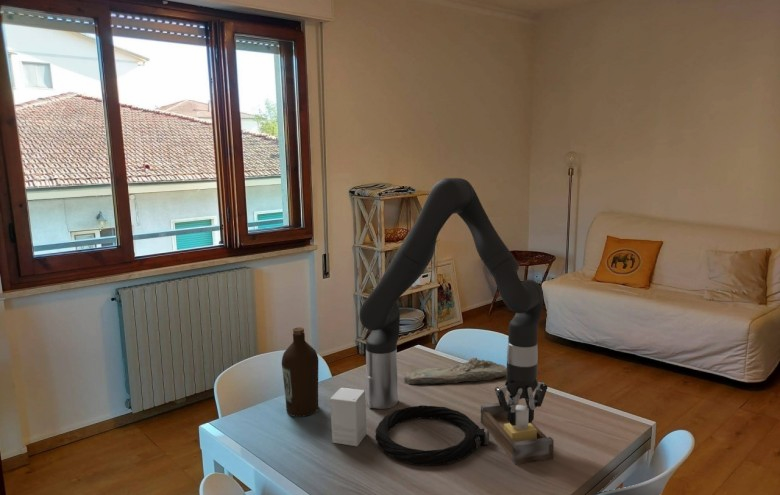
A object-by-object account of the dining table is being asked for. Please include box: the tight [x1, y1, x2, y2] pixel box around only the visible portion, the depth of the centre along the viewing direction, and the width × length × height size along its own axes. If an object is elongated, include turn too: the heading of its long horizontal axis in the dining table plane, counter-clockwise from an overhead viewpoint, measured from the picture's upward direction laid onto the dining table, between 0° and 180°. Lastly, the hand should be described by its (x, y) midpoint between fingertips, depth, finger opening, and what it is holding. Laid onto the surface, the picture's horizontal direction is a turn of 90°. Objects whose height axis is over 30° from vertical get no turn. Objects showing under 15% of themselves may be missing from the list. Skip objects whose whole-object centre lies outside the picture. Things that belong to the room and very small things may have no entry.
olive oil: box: [281, 327, 319, 418], centre depth 164 cm, size 11×11×25 cm
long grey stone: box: [403, 357, 507, 385], centre depth 187 cm, size 35×5×10 cm
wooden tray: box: [480, 401, 555, 465], centre depth 147 cm, size 10×22×5 cm, turn 13°
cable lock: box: [374, 405, 490, 466], centre depth 149 cm, size 28×4×30 cm
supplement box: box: [329, 387, 368, 447], centre depth 149 cm, size 7×7×13 cm
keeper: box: [504, 404, 537, 442], centre depth 144 cm, size 7×5×8 cm
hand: (520, 422), depth 144 cm, fingers closed on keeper, 4 cm apart
